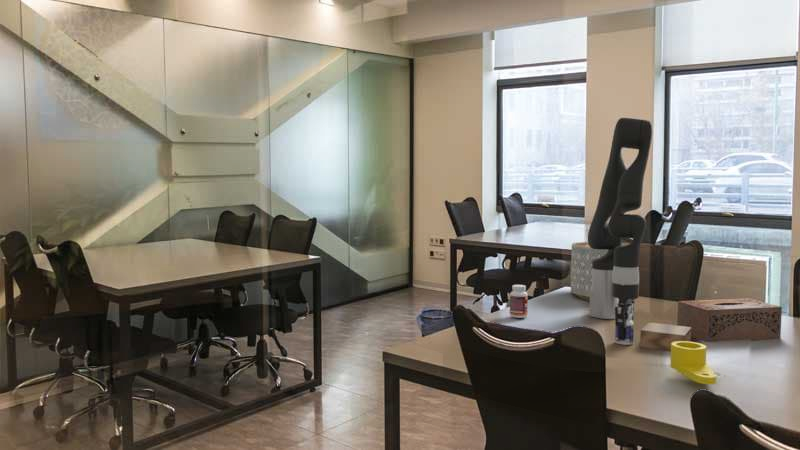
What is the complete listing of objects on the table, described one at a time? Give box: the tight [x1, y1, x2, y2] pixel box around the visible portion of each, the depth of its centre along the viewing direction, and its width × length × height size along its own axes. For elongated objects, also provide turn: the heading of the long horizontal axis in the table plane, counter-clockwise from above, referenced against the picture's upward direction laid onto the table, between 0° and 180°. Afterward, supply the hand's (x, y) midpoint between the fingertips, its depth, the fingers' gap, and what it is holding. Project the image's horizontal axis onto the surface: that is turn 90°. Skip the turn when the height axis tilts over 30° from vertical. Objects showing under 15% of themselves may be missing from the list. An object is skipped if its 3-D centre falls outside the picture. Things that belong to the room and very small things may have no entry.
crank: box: [670, 341, 717, 385], centre depth 167 cm, size 18×8×6 cm, turn 176°
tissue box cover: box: [676, 297, 783, 343], centre depth 207 cm, size 26×14×10 cm, turn 101°
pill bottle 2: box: [614, 313, 635, 346], centre depth 196 cm, size 5×5×9 cm
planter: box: [570, 241, 629, 301], centre depth 265 cm, size 26×26×22 cm
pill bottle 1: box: [509, 284, 529, 319], centre depth 234 cm, size 6×6×11 cm
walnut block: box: [639, 322, 692, 352], centre depth 194 cm, size 12×12×5 cm
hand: (624, 337), depth 196 cm, fingers closed on pill bottle 2, 5 cm apart
